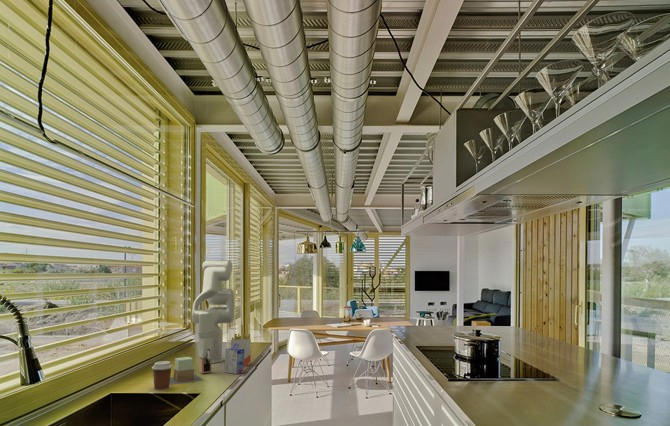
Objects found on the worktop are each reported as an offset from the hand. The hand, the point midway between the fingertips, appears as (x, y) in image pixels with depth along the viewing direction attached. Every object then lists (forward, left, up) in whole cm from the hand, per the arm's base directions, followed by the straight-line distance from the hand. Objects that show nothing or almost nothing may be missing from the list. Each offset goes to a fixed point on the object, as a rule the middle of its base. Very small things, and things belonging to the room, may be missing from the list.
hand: (205, 369), depth 249 cm
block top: (+9, -13, +3) cm, 16 cm away
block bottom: (+9, -13, -2) cm, 16 cm away
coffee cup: (+22, -26, -2) cm, 34 cm away
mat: (+9, -13, -2) cm, 16 cm away
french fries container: (-9, +23, -2) cm, 24 cm away
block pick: (0, 0, -1) cm, 1 cm away
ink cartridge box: (+7, +14, -2) cm, 15 cm away
